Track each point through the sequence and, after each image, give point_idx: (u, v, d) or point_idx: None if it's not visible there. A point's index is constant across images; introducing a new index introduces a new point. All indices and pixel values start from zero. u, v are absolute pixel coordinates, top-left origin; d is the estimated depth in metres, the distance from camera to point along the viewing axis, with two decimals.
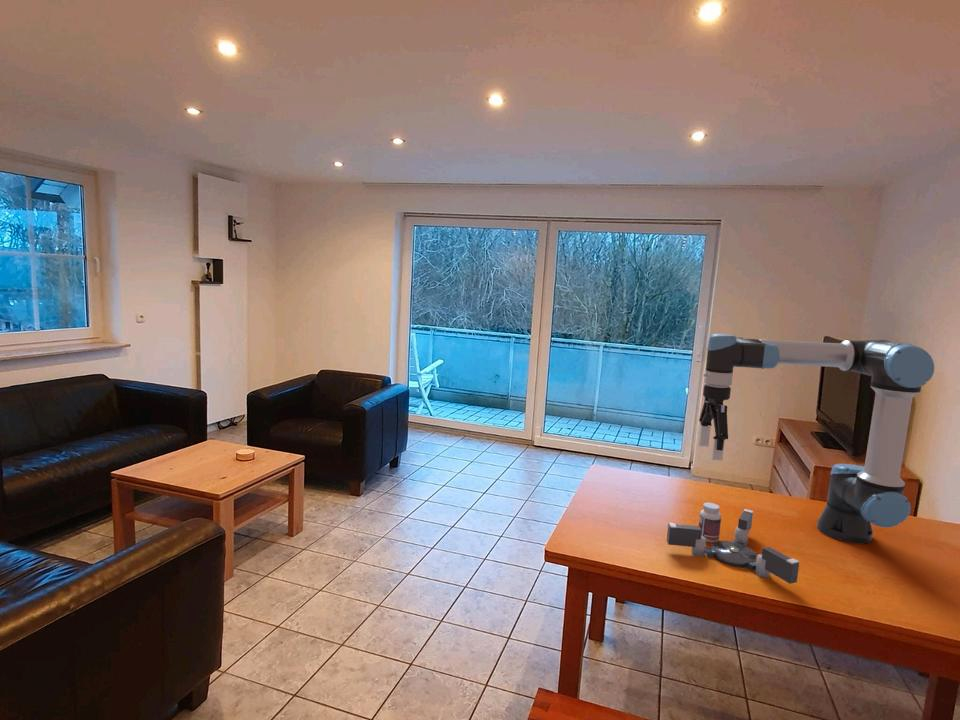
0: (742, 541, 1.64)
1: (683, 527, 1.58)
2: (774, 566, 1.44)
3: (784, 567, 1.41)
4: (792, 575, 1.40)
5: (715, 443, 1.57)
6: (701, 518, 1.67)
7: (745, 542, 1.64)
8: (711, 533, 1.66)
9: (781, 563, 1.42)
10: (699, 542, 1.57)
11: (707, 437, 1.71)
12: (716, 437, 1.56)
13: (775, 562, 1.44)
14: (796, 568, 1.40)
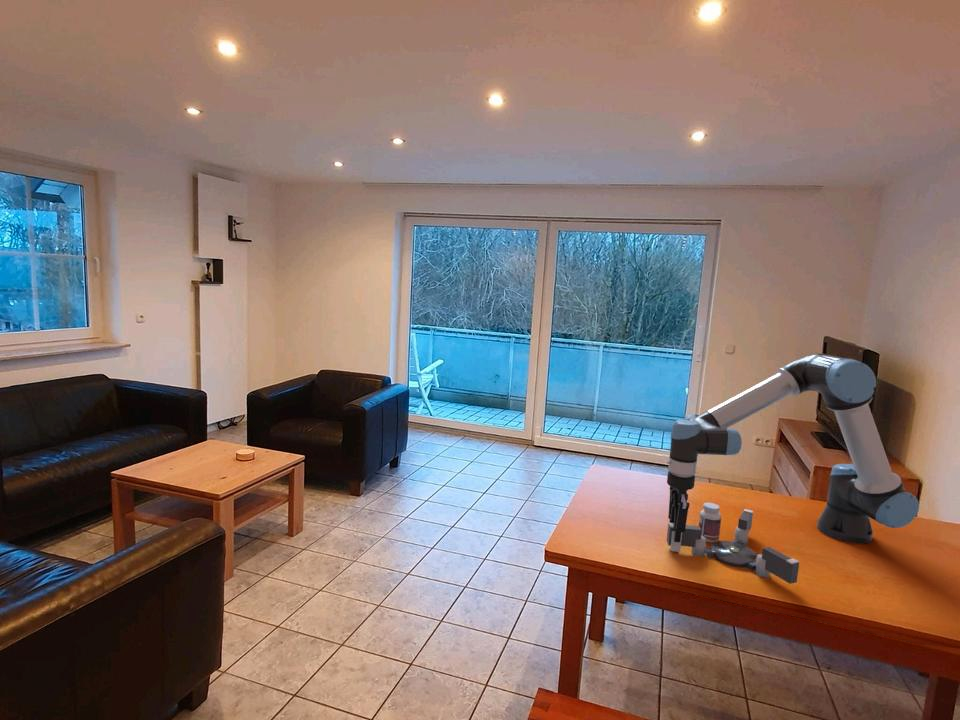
0: (742, 541, 1.64)
1: None
2: (774, 566, 1.44)
3: (784, 567, 1.41)
4: (792, 575, 1.40)
5: (673, 534, 1.57)
6: (701, 518, 1.67)
7: (745, 542, 1.64)
8: (711, 533, 1.66)
9: (781, 563, 1.42)
10: (699, 542, 1.57)
11: None
12: (673, 530, 1.56)
13: (775, 562, 1.44)
14: (796, 568, 1.40)
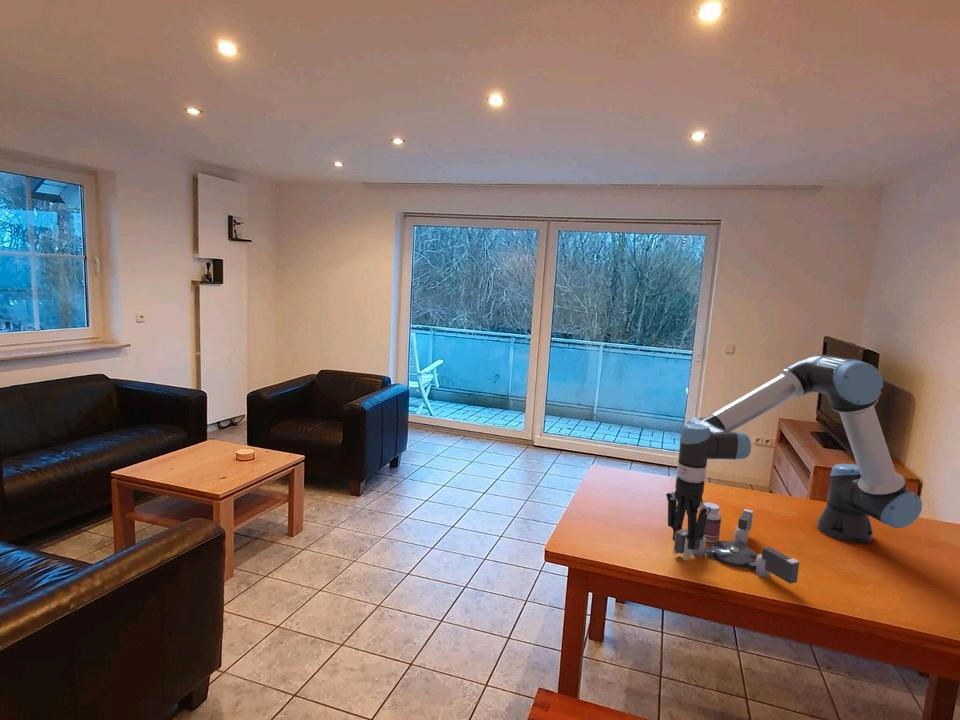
0: (742, 541, 1.64)
1: None
2: (774, 566, 1.44)
3: (784, 567, 1.41)
4: (792, 575, 1.40)
5: (687, 542, 1.53)
6: None
7: (745, 542, 1.64)
8: (711, 533, 1.66)
9: (781, 563, 1.42)
10: (703, 542, 1.57)
11: None
12: (690, 538, 1.51)
13: (775, 562, 1.44)
14: (796, 568, 1.40)
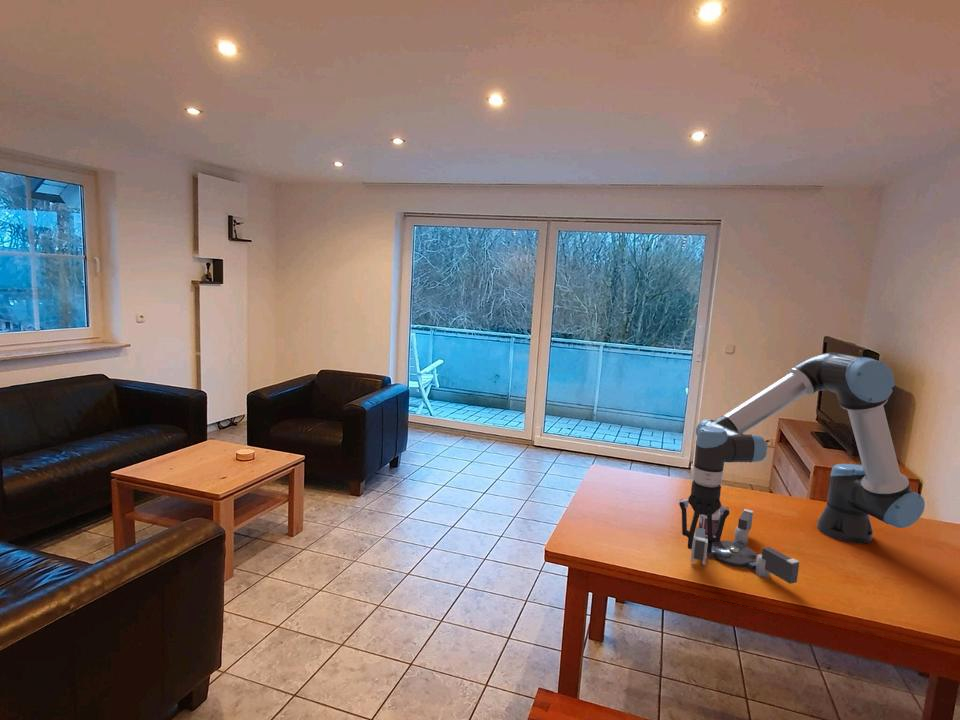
0: (742, 541, 1.64)
1: (702, 535, 1.53)
2: (774, 566, 1.44)
3: (784, 567, 1.41)
4: (792, 575, 1.40)
5: (707, 547, 1.50)
6: (701, 518, 1.67)
7: (745, 542, 1.64)
8: None
9: (781, 563, 1.42)
10: None
11: None
12: None
13: (775, 562, 1.44)
14: (796, 568, 1.40)
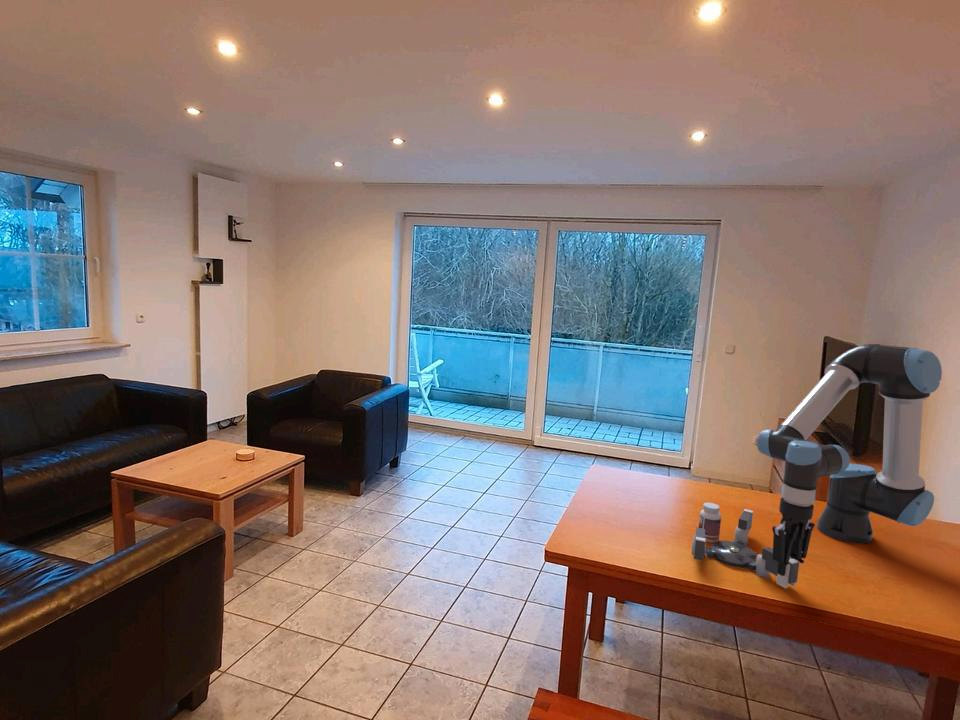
0: (742, 541, 1.64)
1: (702, 535, 1.53)
2: (774, 566, 1.44)
3: None
4: (792, 575, 1.40)
5: None
6: (701, 518, 1.67)
7: (745, 542, 1.64)
8: (711, 533, 1.66)
9: None
10: (705, 541, 1.58)
11: None
12: None
13: (775, 562, 1.44)
14: (796, 568, 1.40)
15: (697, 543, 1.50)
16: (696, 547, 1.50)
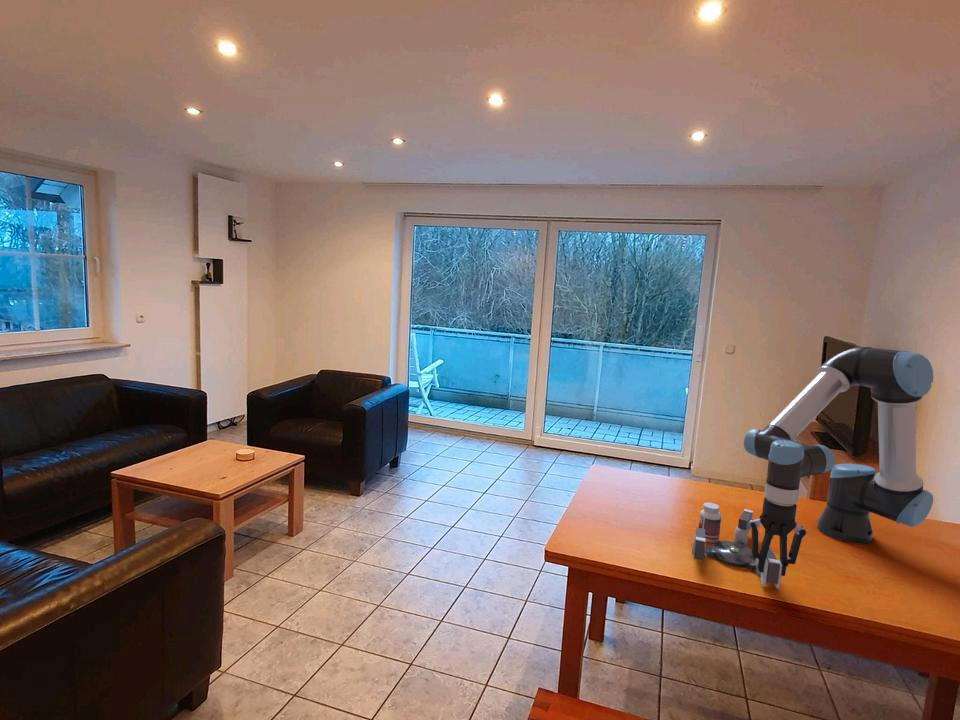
0: (742, 541, 1.64)
1: (702, 535, 1.53)
2: None
3: None
4: (770, 575, 1.40)
5: None
6: (701, 518, 1.67)
7: (745, 542, 1.64)
8: (711, 533, 1.66)
9: None
10: (705, 541, 1.58)
11: None
12: None
13: None
14: (776, 569, 1.39)
15: (697, 543, 1.50)
16: (696, 547, 1.50)
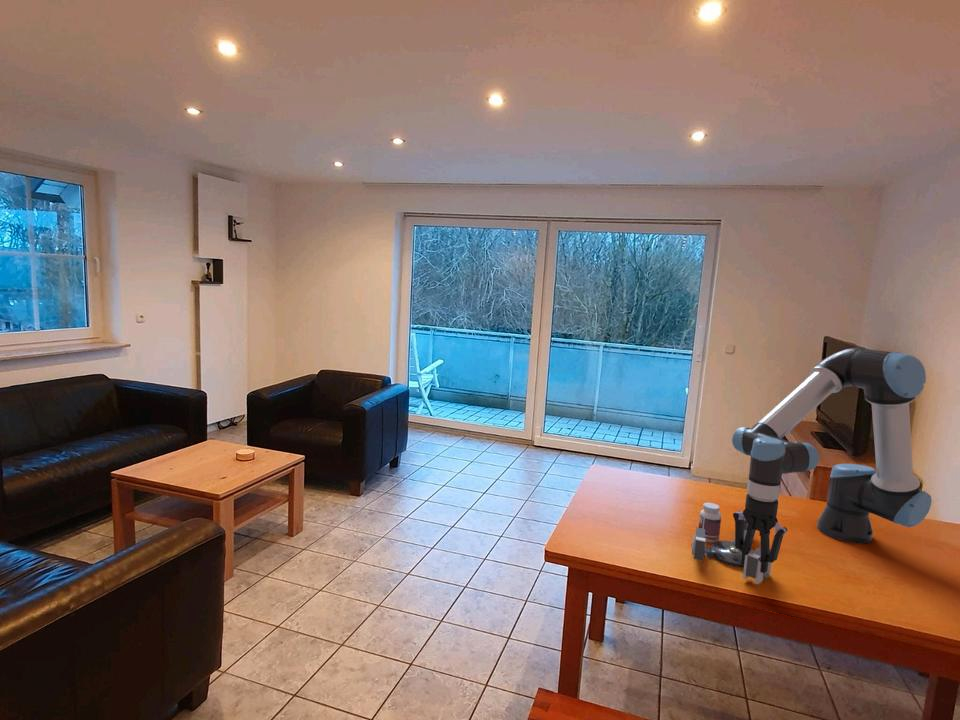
0: None
1: (702, 535, 1.53)
2: None
3: None
4: (748, 568, 1.43)
5: None
6: (701, 518, 1.67)
7: None
8: (711, 533, 1.66)
9: None
10: (705, 541, 1.58)
11: None
12: None
13: None
14: (753, 563, 1.42)
15: (697, 543, 1.50)
16: (696, 547, 1.50)
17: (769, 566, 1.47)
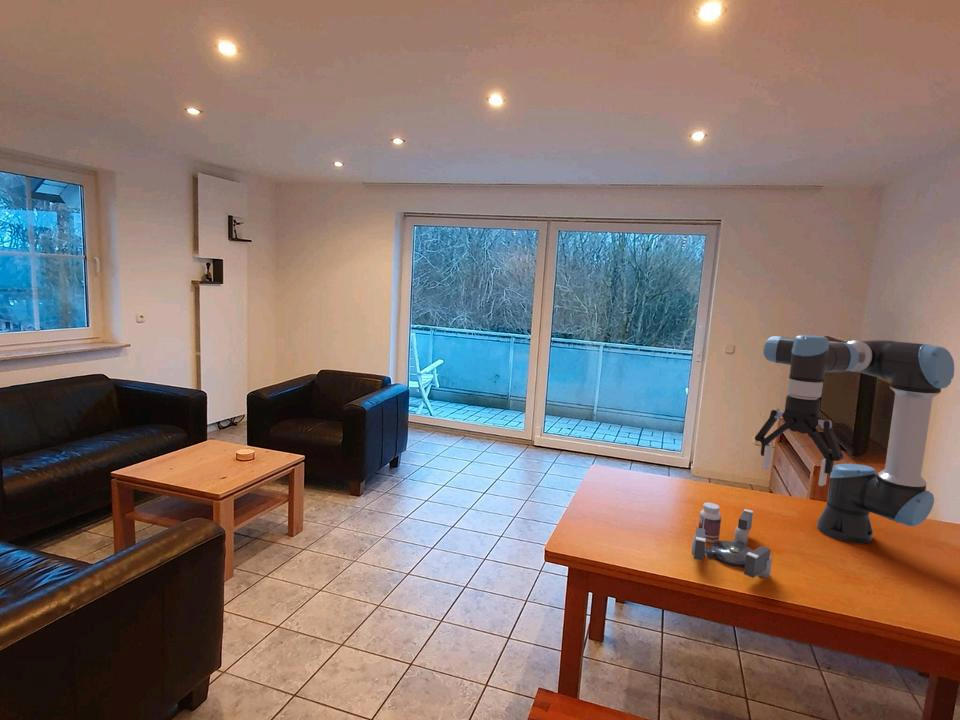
0: (742, 541, 1.64)
1: (702, 535, 1.53)
2: None
3: None
4: (746, 567, 1.43)
5: None
6: (701, 518, 1.67)
7: (745, 542, 1.64)
8: (711, 533, 1.66)
9: None
10: (705, 541, 1.58)
11: None
12: None
13: None
14: (751, 562, 1.42)
15: (697, 543, 1.50)
16: (696, 547, 1.50)
17: (769, 566, 1.47)
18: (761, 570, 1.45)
